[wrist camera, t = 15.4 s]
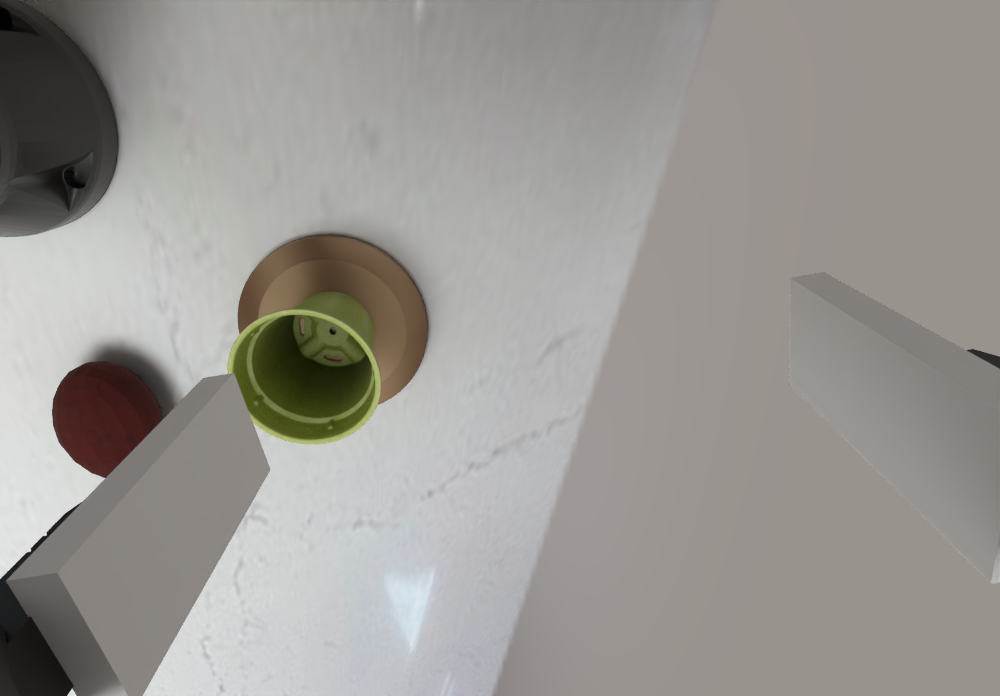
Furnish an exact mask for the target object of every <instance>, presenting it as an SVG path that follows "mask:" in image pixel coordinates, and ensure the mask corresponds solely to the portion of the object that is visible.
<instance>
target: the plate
mask: <svg viewBox="0 0 1000 696" xmlns="http://www.w3.org/2000/svg"><path fill="white" fill-rule="evenodd" d="M325 291H334V292H340V293H344V294H346V295H349V296H351V297H353V298H354V299H356V300H357V301H358V302H359V303H360V304H361V305H362V306H363V307H364V308H365V309H366V310H367V312H368V313H369V314H370V316H371V318H372V320H373V324H374V328H375V340H374V355H375V357H376V360H377V362H378V365H379V369H380V374H381V393H380V398H379V402H378V404H377V405H379V404H381V403H383V402H385V401H387V400H389V399H390V398H392V397H393V396H395V395H396V394H397V393H399V392H400V391H401V390H402V389H403V388H404V387H405V386H406V385H407V384H408V383H409V382H410V380H411V379H412V378H413V376H414V375H415V373H416V371H417V370H418V368H419V366H420V363H421V361H422V358H423V356H424V351H425V347H426V342H427V333H428V324H427V315H426V310H425V306H424V303H423V300H422V297H421V295H420V293H419V291H418V289H417V287H416V285H415V283H414V282H413V280H412V279H411V277H410V276H409V275H408V273H407V272H406V271H405V270H404V269H403V268H402V267H401V266H400V265H399V264H398V263H397V262H396V261H395V260H394V259H393V258H391V257H390V256H389V255H387V254H386V253H384V252H383V251H381V250H380V249H378V248H376V247H374V246H372V245H370V244H368V243H365V242H362V241H360V240H357V239H353V238H349V237H345V236H336V235H317V236H310V237H305V238H301V239H298V240H295V241H292V242H290V243H288V244H286V245H283V246H282V247H280V248H279V249H277V250H275V251H274V252H273V253H271V254H270V255H269V256H268V257H267V258H265V259H264V260H263V261H262V262H261V263H260V264H259V265H258V266H257V267H256V268H255V270H254V271H253V272H252V273H251V275H250V277H249V278H248V280H247V282H246V284H245V286H244V288H243V291H242V294H241V298H240V302H239V308H238V328H239V333H241V332H242V331H243V330H244V329H245V328H246V327H248V326H249V325H250V324H251V323H253V322H254V321H255V320H257V319H259V318H261V317H262V316H265V315H267V314H269V313H272V312H275V311H279V310H284V309H291V308H292V307H294V306H296V305H297V304H298V303H300V302H301V301H303V300H304V299H306V298H308V297H309V296H311V295H313V294H316V293H319V292H325ZM304 321H305V320H304V319H300V322H299V327H300V334H301V335H305V333H304ZM330 333H331V334H332V335H333V334H335V333H336V329H335V328H331V329H330ZM324 357H325V358H326V359H328V360H332V361H340V360H342V359H343V358H342V357H340V356H338V357H334V356H329V355H325V356H324Z"/></svg>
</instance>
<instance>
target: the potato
mask: <svg viewBox="0 0 1000 696" xmlns="http://www.w3.org/2000/svg"><path fill="white" fill-rule="evenodd" d="M52 416H53V426H54V429H55V432H56V435H57V438H58V441H59V443H60V444H61V446H62V447H63V448H64V449H65V450H66V452H67V453H68V454H69V455H70V456H71V458H72V459H73V460H74V461H75V462H76V463H78V464H79V465H81V466H82V467H84V468H85V469H87V470H88V471H90V472H91V473H93V474H96V475H99V476H101V477H104V478H106V477H107V476H108V475H109V474H110V473H111V472H112V471H113V470H114V469H115V468H116V467H117V466H118V465H119V464H120V463H121V462H122V461H123V460H124V459H125V458H126V457H127V456H128V455H129V454H130V453H131V452H132V451H133V450H134V449H135V448H136V447H137V446H138V445H139V444H140V443H141V442H142V441H143V439H144V438H145V437H146V436H147V435H148V434H149V433H150V432H151V431H152V430H153V429H154V428H155V427H156V426H157V425H158V424H159V423H160V422H161V421H162V420H163V418H162V412H161V407H160V405H159V404H158V402H157V400H156V399H155V397H154V395H153V393H152V392H151V391H150V390H149V389H148V387H147V386H146V385H145V384H144V383H143V382H142V380H141V379H139V378H138V377H137V376H136V375H134V374H133V373H132V372H130V371H129V370H127V369H125V368H123V367H121V366H119V365H116V364H112V363H109V362H89V363H85V364H83V365H81V366H79V367H77V368H75V369H74V370H72V371H70V372H69V373H68V374H67V375H66V376H65V377H64V379H63V380H62V381H61V383H60V385H59V387H58V388H57V391H56V394H55V396H54V399H53V408H52Z"/></svg>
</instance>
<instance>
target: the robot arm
mask: <svg viewBox="0 0 1000 696" xmlns="http://www.w3.org/2000/svg"><path fill="white" fill-rule="evenodd" d="M116 156H117V132H116V125H115V119H114V115H113V111H112V107H111V104H110V101H109V98H108V96H107V93H106V91H105V89H104V87H103V84H102V82H101V80H100V79H99V77H98V75H97V73H96V72H95V70H94V68H93V67H92V65H91V64H90V62H89V61H88V59H87V58H86V56H85V55H84V54H83V53H82V51H81V50H80V49H79V48H78V46H77V45H76V44H75V43H74V42H73V41H72V40H71V39H70V38H69V37H68V36H67V35H66V34H65V33H64V32H63V31H62V30H61V29H60V28H59V27H58V26H56V25H55V24H54V23H53V22H51V21H50V20H49V19H48V18H46V17H45V16H43V15H42V14H41V13H39V12H38V11H36V10H34V9H33V8H31V7H30V6H28V5H26V4H24V3H22V2H20V1H18V0H0V237H19V236H28V235H34V234H39V233H42V232H46V231H49V230H52V229H55V228H58V227H60V226H63V225H66V224H68V223H71V222H73V221H75V220H76V219H78V218H80V217H81V216H83V215H84V214H86V213H87V212H88V211H89V210H90V209H92V208H93V207H94V205H95V204H96V203H97V202H98V201H99V200H100V198H101V197H102V196H103V194H104V192H105V191H106V189H107V187H108V185H109V183H110V180H111V178H112V175H113V172H114V168H115V163H116ZM789 331H790V333H789V334H790V335H789V338H790V339H789V341H790V342H789V343H790V344H789V348H790V349H789V353H790V354H789V385H790V386H791V387H792V388H793V389H794V390H795V391H796V392H797V393H798V394H799V395H800V396H801V397H802V398H803V399H804V400H805V401H806V402H807V403H808V404H809V405H810V406H811V407H812V408H813V409H814V410H815V411H816V412H817V413H818V414H819V415H820V416H821V417H822V418H823V419H824V420H825V421H826V422H827V423H828V424H829V425H830V426H831V427H832V428H833V429H834V430H836V431H837V433H838V434H839V435H840V436H842V438H843V439H845V440H846V441H847V442H848V443H849V444H850V445H851V446H852V447H853V448H854V449H855V450H856V451H857V452H858V453H859V454H860V455H861V456H862V457H863V458H864V459H865V460H866V461H867V462H868V463H869V464H870V465H871V466H872V467H873V468H874V469H875V470H876V471H877V472H878V473H879V474H880V475H881V476H882V477H883V478H884V479H885V480H886V481H887V482H888V483H889V484H890V485H891V486H892V487H893V488H894V489H895V490H896V491H897V492H898V493H899V494H900V495H901V496H902V497H904V499H905V500H906V501H907V502H908V503H909V504H911V505H912V507H913V508H915V509H916V510H917V511H918V512H919V513H920V514H921V515H922V516H923V517H924V518H925V519H926V520H927V521H928V522H929V523H930V524H931V525H932V526H933V527H934V528H935V529H936V530H937V531H938V532H939V533H940V534H941V535H942V536H943V537H944V538H945V539H946V540H947V541H948V542H949V543H950V544H951V545H952V546H953V547H954V548H955V549H956V550H957V551H958V552H959V553H960V554H961V555H962V556H963V557H964V558H965V559H966V560H967V561H968V562H969V563H970V564H971V565H972V566H973V567H974V568H975V569H976V570H978V572H979V573H980V574H982V576H983V577H985V578H986V579H987V580H988V581H989V582H990V583H991V584H994V583H1000V357H999V356H995V355H992V354H988V353H984V352H981V351H977V350H974V349H972V350H965V349H963V348H961V347H959V346H957V345H955V344H954V343H952V342H950V341H948V340H946V339H945V338H943V337H941V336H939V335H937V334H936V333H934V332H932V331H930V330H928V329H926V328H925V327H923V326H921V325H919V324H917V323H916V322H914V321H912V320H910V319H908V318H906V317H905V316H903V315H901V314H899V313H897V312H895V311H894V310H892V309H890V308H888V307H886V306H885V305H883V304H881V303H879V302H877V301H875V300H874V299H872V298H870V297H868V296H866V295H865V294H863V293H861V292H859V291H857V290H855V289H854V288H852V287H850V286H848V285H846V284H845V283H843V282H841V281H839V280H837V279H835V278H834V277H832V276H830V275H828V274H826V273H825V272H821V273H815V274H810V275H804V276H798V277H792V278H790V330H789ZM269 471H270V467H269V465H268V462H267V459H266V457H265V454H264V451H263V449H262V446H261V443H260V441H259V438H258V435H257V433H256V430H255V427H254V425H253V422H252V419H251V417H250V414H249V411H248V409H247V406H246V403H245V401H244V398H243V395H242V393H241V390H240V387H239V385H238V382H237V379H236V377H235V374H234V373H231V374H225V375H220V376H214V377H208V378H203V379H202V380H201V381H200V382H199V383H198V384H197V385H196V386H195V387H194V388H193V389H192V390H191V391H190V392H189V393H188V394H187V395H186V396H185V397H184V398H183V399H182V400H181V402H180V403H179V404H178V405H177V406H176V407H175V408H174V409H173V410H172V411H171V412H170V413H169V414H168V415H167V416H166V417H165V418H164V419H163V420H162V421H161V422H160V423H159V424H158V425H157V426H156V427H155V428H154V429H153V430H152V431H151V432H150V433H149V434H148V435H147V436H146V437H145V438H144V439H143V441H142V442H141V443H140V444H139V445H138V446H137V447H136V448H135V449H134V450H133V451H132V452H131V453H130V454H129V455H128V456H127V457H126V458H125V459H124V460H123V461H122V462H121V463H120V464H119V465H118V466H117V467H116V468H115V469H114V470H113V471H112V472H111V473H110V474H109V475H108V476H107V477H106V478H105V480H104V481H103V482H102V483H101V484H100V485H99V486H98V487H97V488H96V489H95V490H94V491H93V492H92V493H91V494H90V495H89V496H88V497H87V498H86V499H85V500H84V501H83V502H81V503H80V504H78V505H77V506H75V507H74V508H73V509H71V510H70V511H68V512H67V513H65V514H64V515H63V516H62V517H61V518H60V519H59V520H58V521H57V522H56V523H55V525H54V526H53V527H52V528H51V529H50V530H49V531H48V532H47V536H43V537H42V538H41V539H40V540H39V541H38V542H37V543H36V544H35V545H34V546H33V547H32V548H31V552H27V553H26V554H25V555H24V556H23V557H22V558H21V559H20V560H19V561H18V562H17V563H16V564H15V565H14V566H13V567H12V568H11V569H10V570H9V571H8V572H7V573H6V574H5V575H4V576H3V577H2V578H1V579H0V696H67V695H68V693H69V692H70V691H71V689H73V690H74V692H75V693H76V695H77V696H142V695H143V694H144V692H145V690H146V688H147V687H148V685H149V683H150V681H151V679H152V678H153V676H154V674H155V672H156V671H157V669H158V667H159V665H160V664H161V662H162V660H163V658H164V656H165V655H166V653H167V651H168V649H169V648H170V646H171V644H172V642H173V641H174V639H175V637H176V635H177V634H178V632H179V630H180V628H181V626H182V625H183V623H184V621H185V619H186V618H187V616H188V614H189V612H190V611H191V609H192V607H193V605H194V604H195V602H196V600H197V598H198V596H199V595H200V593H201V591H202V589H203V588H204V586H205V584H206V582H207V581H208V579H209V577H210V575H211V573H212V572H213V570H214V568H215V566H216V565H217V563H218V561H219V559H220V558H221V556H222V554H223V552H224V551H225V549H226V547H227V545H228V543H229V542H230V540H231V538H232V536H233V535H234V533H235V531H236V529H237V528H238V526H239V524H240V522H241V521H242V519H243V517H244V515H245V513H246V512H247V510H248V508H249V506H250V505H251V503H252V501H253V499H254V498H255V496H256V494H257V492H258V491H259V489H260V487H261V485H262V483H263V482H264V480H265V478H266V476H267V475H268V473H269Z"/></svg>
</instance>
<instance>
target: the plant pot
mask: <svg viewBox="0 0 1000 696" xmlns="http://www.w3.org/2000/svg"><path fill="white" fill-rule="evenodd" d="M300 319H304V320H305V321H304V333H305V335H301V334H300V327H299V322H300ZM331 328H335V329H336V333H335V334H333V335H332V334H331V333H330V329H331ZM374 340H375V328H374V324H373V320H372V318H371V316H370V314H369V313H368V312H367V310H366V309H365V308H364V307H363V306H362V305H361V304H360V303H359V302H358V301H357V300H356V299H354V298H353V297H351V296H349V295H346V294H344V293H340V292H334V291H325V292H319V293H316V294H313V295H311V296H309V297H308V298H306V299H304V300H303V301H301V302H300V303H298V304H297V305H296V306H294V307H292V308H291V309H284V310H279V311H275V312H272V313H269V314H267V315H265V316H262V317H261V318H259V319H257V320H255V321H254V322H253V323H251V324H250V325H249V326H248V327H246V328H245V329H244V330H243V331H242V332H241V333H240V335H239V336H238V338H237V339H236V341H235V342H234V344H233V346H232V349H231V351H230V355H229V359H228V374H231V373H234V374H235V377H236V379H237V382H238V385H239V387H240V390H241V393H242V395H243V398H244V401H245V403H246V406H247V409H248V411H249V414H250V417H251V419H252V422H253V423H254V424H255V425H257V426H258V427H259V428H261V429H262V430H264V431H265V432H267V433H269V434H271V435H273V436H275V437H277V438H280V439H283V440H286V441H289V442H293V443H301V444H325V443H330V442H334V441H337V440H340V439H342V438H345V437H347V436H349V435H351V434H352V433H354V432H356V431H357V430H359V429H360V428H361V427H362V426H363V425H364V424H365V423H366V422H367V421H368V420H369V419H370V417H371V416H372V414H373V413H374V411H375V409H376V407H377V404H378V402H379V398H380V393H381V374H380V369H379V365H378V362H377V360H376V357H375V355H374ZM325 355H329V356H334V357H338V356H340V357H342V358H343V359H342V360H340V361H332V360H328V359H326V358H325V357H324V356H325Z"/></svg>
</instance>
